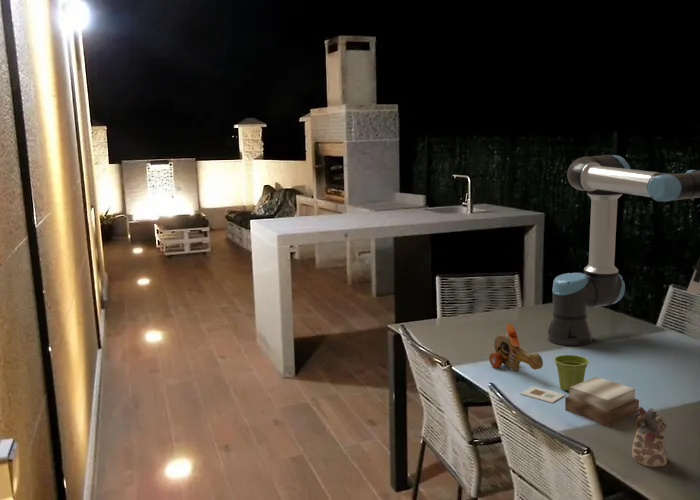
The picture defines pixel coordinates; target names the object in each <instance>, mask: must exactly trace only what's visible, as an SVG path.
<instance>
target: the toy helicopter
mask: <svg viewBox="0 0 700 500" xmlns="http://www.w3.org/2000/svg"><path fill="white" fill-rule="evenodd" d="M504 328H505V329H506V333H505V334H503V333H502V334H499V335H497V336H496V337H495V339H494V343H493V345H494V350H495V352H491V353H490V354H489V359H488V360H489V363H490V365H491V366H492V367H493V368H495V369H498V368H501V367H502V366H503V365H504V366H507V367H510V369H511V370H512V371H514V372H515V371H519V370H520V368H521V367H520V365H521V364H520V363H521V362H522V363H525V364H527V365H528V366H529V367H530V368H531V369H533V370H540V369H542V368H543V366H544V361H543V358H542V356H541V355H540V354H539V353H538V352H534V353H531V352H528V351H526V350H524V349H522V348H521V347H520V341H519V337H518V334H517V332H516V330H515V327H514V325H512V324H511V323H506V324H505V327H504Z"/></svg>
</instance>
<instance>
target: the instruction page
mask: <svg viewBox="0 0 700 500" xmlns="http://www.w3.org/2000/svg"><path fill="white" fill-rule="evenodd" d="M520 395H522V396H525V397H529V398H533V399H536V400H539V401H543V402H546V403H549V404H550V403H551V404H554V403H555V402H557V401H559V399H561V398H563V397H566V394H564V393H560V392H556V391H553V390H549V389H545V388H542V387H537V386H535V385H533V386H531V387H528V388H527V389H525V390H523V391H522V392H520Z"/></svg>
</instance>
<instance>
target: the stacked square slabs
mask: <svg viewBox="0 0 700 500" xmlns="http://www.w3.org/2000/svg"><path fill="white" fill-rule="evenodd" d="M564 397H565V398H564V403H565V405H564V406H565V410H564V411H568V412H570V413H572V414H575V415H577V416H580V417H583V418H585V419H589V420H591V421H593V422H596V423H599V424H600V425H604V426H606V427H610V426H612V425H614V424H617V423H618V422H622V421H624V420H625V419H628V418H630V417H632V416H634V415H636V414H638V413H639V411H638V408H639V407H640V399H638V398H636V388H633V387H631V386H627V385H624V384H620V383H618V382H614V381H612V380H608V379H605V378H602V377H599V376H594V377H592V378H589V379H587V380H584V381H583V382H581V383H579V384H576V385H573V386H571V387H570V392H569V395H568V396H564ZM639 414H640V413H639Z"/></svg>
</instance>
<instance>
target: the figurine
mask: <svg viewBox="0 0 700 500" xmlns="http://www.w3.org/2000/svg"><path fill="white" fill-rule="evenodd" d="M638 411H639V415H638V416H637V418H636V421H635V425H636V429H637V430H636V433H635V436H634V439H633V442H632V449H631V456H632V459H633V460H634V461H635V462H636V463H637V464H640V465H642V466H644V467H650V468H651V467H655V468H656V467H664V466H665V465H666V464H667V463H668V458H667V455H668V454H667V453H668V452H667V450H666V444H665V443H666V442H665V437H664V435H665V430H666V428H667V425H666V423H665V422H664V421H663V417H662V415H661V414H660V412H659V411H657V410H656V408H648V409H647V411H646V410H645V409H644V407H642V406H639V408H638ZM641 421H643V422H644V424H642V423H640V422H641Z"/></svg>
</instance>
